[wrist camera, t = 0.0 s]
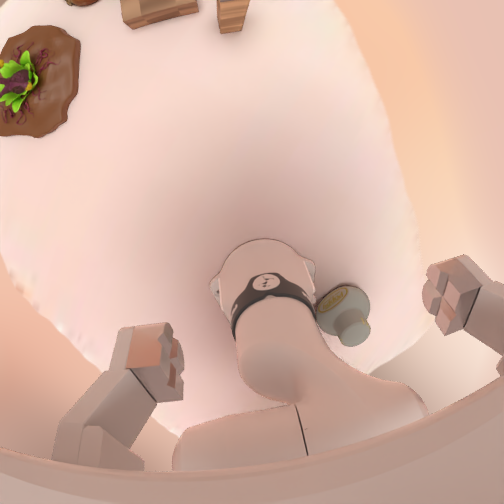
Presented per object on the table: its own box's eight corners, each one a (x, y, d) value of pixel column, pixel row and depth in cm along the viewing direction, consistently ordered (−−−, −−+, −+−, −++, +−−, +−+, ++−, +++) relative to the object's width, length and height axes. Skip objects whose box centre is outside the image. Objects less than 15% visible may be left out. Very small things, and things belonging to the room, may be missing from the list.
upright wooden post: (241, 31, 35) (252, -6, 21) (220, 34, 35) (220, -2, 21) (238, 13, 34) (247, -29, 19) (216, 16, 34) (215, -26, 19)
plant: (96, 23, 31) (64, 6, 22) (71, 139, 40) (35, 151, 30) (7, 32, 27) (-31, 27, 18) (-11, 134, 36) (-50, 146, 26)
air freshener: (350, 273, 56) (371, 304, 47) (369, 297, 59) (389, 328, 50) (305, 307, 58) (319, 342, 49) (327, 328, 62) (341, 362, 53)
